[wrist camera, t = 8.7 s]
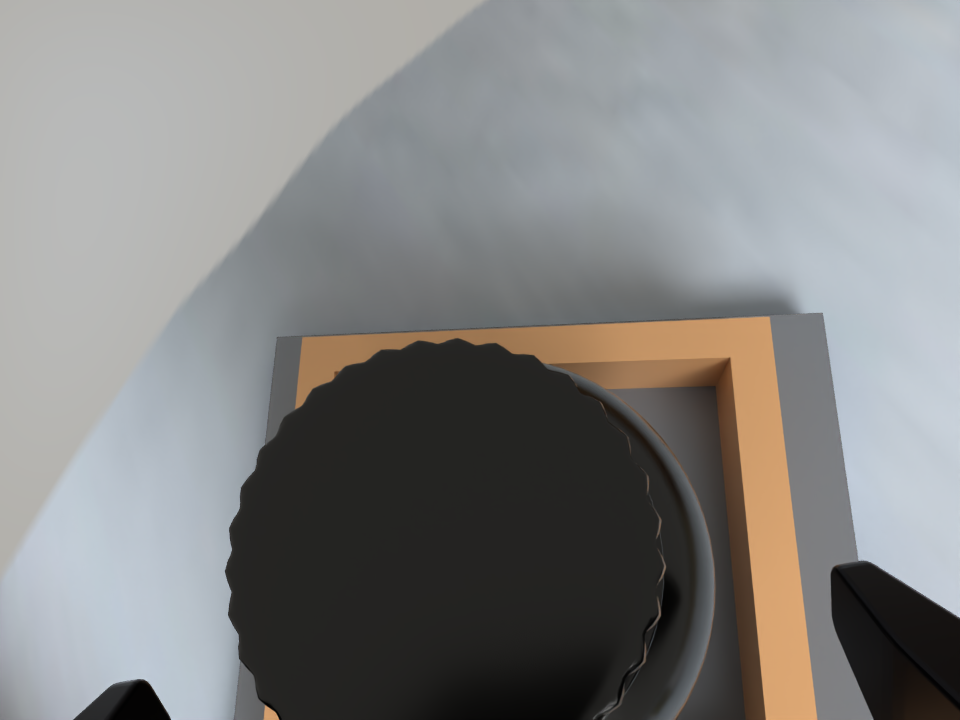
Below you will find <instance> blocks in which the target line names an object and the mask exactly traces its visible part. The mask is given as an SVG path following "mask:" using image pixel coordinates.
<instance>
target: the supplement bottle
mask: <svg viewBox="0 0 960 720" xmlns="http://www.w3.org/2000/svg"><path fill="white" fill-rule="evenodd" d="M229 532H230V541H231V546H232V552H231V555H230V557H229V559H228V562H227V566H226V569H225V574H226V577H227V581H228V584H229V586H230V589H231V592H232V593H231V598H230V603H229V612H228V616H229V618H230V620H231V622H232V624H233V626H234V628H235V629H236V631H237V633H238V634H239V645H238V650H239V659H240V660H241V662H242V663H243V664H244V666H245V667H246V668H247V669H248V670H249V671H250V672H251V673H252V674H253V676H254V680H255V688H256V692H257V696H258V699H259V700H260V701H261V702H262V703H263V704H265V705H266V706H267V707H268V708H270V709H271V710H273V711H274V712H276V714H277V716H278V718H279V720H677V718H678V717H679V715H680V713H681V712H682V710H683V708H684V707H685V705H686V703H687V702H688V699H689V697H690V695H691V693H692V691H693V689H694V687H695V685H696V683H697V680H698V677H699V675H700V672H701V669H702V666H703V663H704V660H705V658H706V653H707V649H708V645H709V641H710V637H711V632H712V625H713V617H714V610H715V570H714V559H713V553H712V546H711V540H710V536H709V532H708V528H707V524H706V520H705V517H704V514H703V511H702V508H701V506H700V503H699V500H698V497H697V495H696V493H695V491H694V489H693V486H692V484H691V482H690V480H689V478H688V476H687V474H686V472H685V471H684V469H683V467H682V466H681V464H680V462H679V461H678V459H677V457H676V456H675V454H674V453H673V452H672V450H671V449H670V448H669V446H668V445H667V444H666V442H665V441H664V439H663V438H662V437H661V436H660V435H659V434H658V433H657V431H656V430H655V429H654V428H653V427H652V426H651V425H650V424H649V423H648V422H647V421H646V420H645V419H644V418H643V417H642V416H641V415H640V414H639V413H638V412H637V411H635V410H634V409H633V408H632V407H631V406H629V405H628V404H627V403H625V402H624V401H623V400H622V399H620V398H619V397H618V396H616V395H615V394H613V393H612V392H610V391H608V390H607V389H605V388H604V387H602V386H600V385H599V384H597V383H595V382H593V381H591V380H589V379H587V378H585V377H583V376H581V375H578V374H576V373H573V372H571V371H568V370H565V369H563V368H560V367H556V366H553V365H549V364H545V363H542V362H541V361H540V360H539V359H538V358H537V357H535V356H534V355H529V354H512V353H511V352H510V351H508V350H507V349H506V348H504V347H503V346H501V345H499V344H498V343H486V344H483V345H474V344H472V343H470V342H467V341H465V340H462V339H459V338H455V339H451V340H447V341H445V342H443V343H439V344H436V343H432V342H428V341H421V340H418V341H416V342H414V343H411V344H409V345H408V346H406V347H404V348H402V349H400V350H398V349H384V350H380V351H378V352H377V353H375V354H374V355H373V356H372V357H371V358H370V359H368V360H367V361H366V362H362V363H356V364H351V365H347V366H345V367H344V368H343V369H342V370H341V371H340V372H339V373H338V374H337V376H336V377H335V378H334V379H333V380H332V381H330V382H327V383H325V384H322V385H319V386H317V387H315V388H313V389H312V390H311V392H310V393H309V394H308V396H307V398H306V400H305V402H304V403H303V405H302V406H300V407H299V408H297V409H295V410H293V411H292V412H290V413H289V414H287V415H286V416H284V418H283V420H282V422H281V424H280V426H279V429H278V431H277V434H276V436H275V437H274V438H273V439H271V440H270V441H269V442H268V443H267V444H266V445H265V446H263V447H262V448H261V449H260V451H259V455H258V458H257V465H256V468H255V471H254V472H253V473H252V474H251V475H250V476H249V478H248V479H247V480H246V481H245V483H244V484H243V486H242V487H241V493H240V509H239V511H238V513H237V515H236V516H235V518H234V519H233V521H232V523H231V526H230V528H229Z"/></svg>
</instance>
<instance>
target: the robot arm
mask: <svg viewBox="0 0 960 720" xmlns="http://www.w3.org/2000/svg"><path fill="white" fill-rule="evenodd" d="M830 579H831V613H832V621H833V625H834V628H835V631H836V634H837V636H838V639H839V641H840V643H841V646H842V648H843V650H844V653H845V655H846V657H847V660H848V662H849V664H850V667H851V669H852V671H853V673H854V676H855V678H856V680H857V683H858V685H859V687H860V690H861V692H862V694H863V697H864V699H865V701H866V704H867V706H868V708H869V710H870V713H871V715H872V717H873V720H960V618H959V617H957V616H956V615H954V614H953V613H951V612H950V611H948V610H946V609H945V608H943V607H942V606H940V605H938V604H937V603H935V602H934V601H932V600H930V599H929V598H927V597H926V596H924V595H922V594H921V593H919V592H918V591H916V590H914V589H913V588H911V587H910V586H908V585H906V584H905V583H903V582H902V581H900V580H898V579H897V578H895V577H894V576H892V575H891V574H889V573H887V572H886V571H884V570H883V569H881V568H879V567H878V566H876V565H875V564H873V563H871V562H868V561H857V562H850V563H844V564H838V565H836V566H834V567H833V568H832V570H831V575H830ZM74 720H171V718H170V716H169V714H168V713H167V711H166V709H165V708H164V706H163V705H162V703H161V701H160V700H159V698H158V696H157V695H156V693H155V691H154V690H153V688H152V687H151V685H150V684H149V683H148V682H147V681H145V680H143V679H137V680H131V681H125V682H119V683H116V684H113V685H112V686H110V687H109V688H108V689H107V690H105V691H104V692H103V693H102V694H101V695H100V696H99V697H98V698H97V699H96V700H94V701H93V702H92V703H91V704H90V705H89V706H88V707H87V708H86V709H85V710H83V711H82V712H81V713H80V714H79V715H78V716H77V717H76V718H75V719H74Z"/></svg>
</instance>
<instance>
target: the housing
mask: <svg viewBox="0 0 960 720" xmlns="http://www.w3.org/2000/svg"><path fill="white" fill-rule="evenodd" d="M455 338H459V339H462V340H465V341H467V342H470V343H472V344H474V345H483V344H486V343H498V344H499V345H501V346H503V347H504V348H506V349H507V350H508V351H510V352H511V353H512V354H529V355H534V356H535V357H537V358H538V359H539V360H540V361H541V362H542V363H545V364H549V365H553V366H556V367H560V368H563V369H565V370H568V371H571V372H573V373H576V374H578V375H581V376H583V377H585V378H587V379H589V380H591V381H593V382H595V383H597V384H599V385H600V386H602V387H604V388H605V389H607V390H608V391H610V392H612V393H613V394H615V395H616V396H618V397H619V398H620V399H622V400H623V401H624V402H625V403H627V404H628V405H629V406H631V407H632V408H633V409H634V410H635V411H637V412H638V413H639V414H640V415H641V416H642V417H643V418H644V419H645V420H646V421H647V422H648V423H649V424H650V425H651V426H652V427H653V428H654V429H655V430H656V431H657V433H658V434H659V435H660V436H661V437H662V438H663V439H664V441H665V442H666V444H667V445H668V446H669V448H670V449H671V450H672V452H673V453H674V454H675V456H676V457H677V459H678V461H679V462H680V464H681V466H682V467H683V469H684V471H685V472H686V474H687V476H688V478H689V480H690V482H691V484H692V486H693V489H694V491H695V493H696V495H697V497H698V500H699V503H700V506H701V508H702V511H703V514H704V517H705V520H706V524H707V528H708V532H709V536H710V540H711V546H712V553H713V559H714V570H715V610H714V617H713V625H712V632H711V637H710V641H709V645H708V649H707V653H706V658H705V660H704V663H703V666H702V669H701V672H700V675H699V677H698V680H697V683H696V685H695V687H694V689H693V691H692V693H691V695H690V697H689V699H688V702H687V703H686V705H685V707H684V708H683V710H682V712H681V713H680V715H679V717H678V718H677V720H873V717H872V715H871V713H870V710H869V708H868V706H867V704H866V701H865V699H864V697H863V694H862V692H861V690H860V687H859V685H858V683H857V680H856V678H855V676H854V673H853V671H852V669H851V667H850V664H849V662H848V660H847V657H846V655H845V653H844V650H843V648H842V646H841V643H840V641H839V639H838V636H837V634H836V631H835V628H834V625H833V621H832V613H831V579H830V575H831V570H832V568H833V567H834V566H836V565H838V564H844V563H850V562H857V561H858V555H857V548H856V541H855V534H854V527H853V520H852V513H851V506H850V499H849V492H848V485H847V478H846V471H845V464H844V457H843V450H842V443H841V436H840V429H839V422H838V415H837V408H836V402H835V395H834V388H833V381H832V374H831V367H830V360H829V353H828V346H827V339H826V332H825V325H824V318H823V313H808V314H785V315H763V316H741V317H718V318H696V319H673V320H651V321H628V322H606V323H583V324H561V325H538V326H516V327H493V328H471V329H449V330H426V331H404V332H381V333H359V334H336V335H314V336H291V337H277V343H276V352H275V360H274V369H273V378H272V387H271V396H270V405H269V414H268V422H267V431H266V440H265V445H266V444H267V443H268V442H269V441H270V440H271V439H273V438H274V437H275V436H276V434H277V431H278V429H279V426H280V424H281V422H282V420H283V418H284V416H286V415H287V414H289V413H290V412H292V411H293V410H295V409H297V408H299V407H300V406H302V405H303V403H304V402H305V400H306V398H307V396H308V394H309V393H310V392H311V390H312V389H313V388H315V387H317V386H319V385H322V384H325V383H327V382H330V381H332V380H333V379H334V378H335V377H336V376H337V374H338V373H339V372H340V371H341V370H342V369H343V368H344V367H345V366H347V365H351V364H356V363H362V362H366V361H367V360H368V359H370V358H371V357H372V356H373V355H374V354H375V353H377V352H378V351H380V350H384V349H398V350H400V349H402V348H404V347H406V346H408V345H409V344H411V343H414V342H416V341H418V340H421V341H428V342H432V343H436V344H439V343H443V342H445V341H447V340H451V339H455ZM234 720H279V718H278V716H277V714H276V712H274V711H273V710H271V709H270V708H268V707H267V706H266V705H265V704H263V703H262V702H261V701H260V700H259V699H258V696H257V692H256V688H255V680H254V676H253V674H252V673H251V672H250V671H249V670H248V669H247V668H246V667H245V666H244V664H243V663H242V662H241V661H240V670H239V679H238V688H237V697H236V705H235V714H234Z"/></svg>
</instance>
